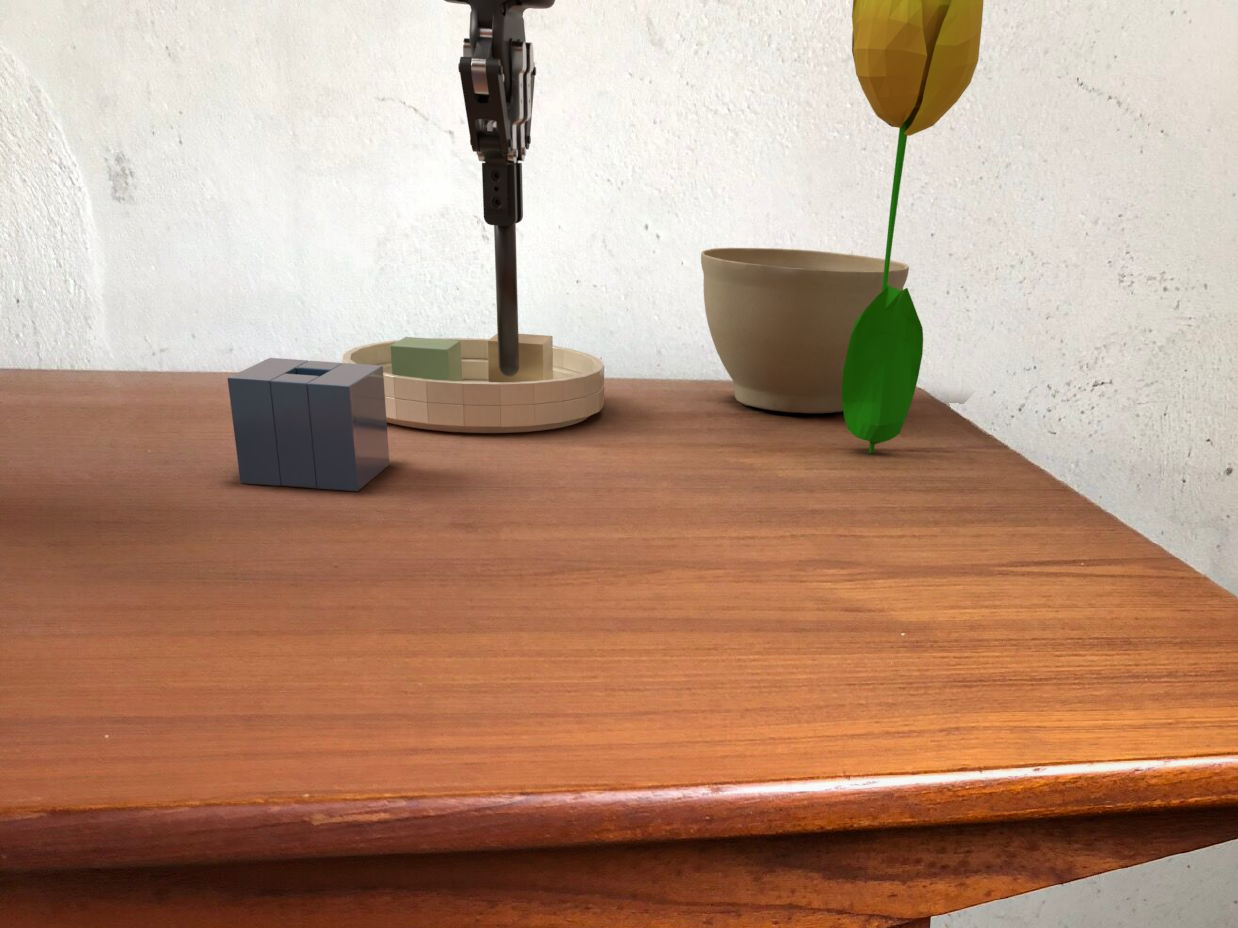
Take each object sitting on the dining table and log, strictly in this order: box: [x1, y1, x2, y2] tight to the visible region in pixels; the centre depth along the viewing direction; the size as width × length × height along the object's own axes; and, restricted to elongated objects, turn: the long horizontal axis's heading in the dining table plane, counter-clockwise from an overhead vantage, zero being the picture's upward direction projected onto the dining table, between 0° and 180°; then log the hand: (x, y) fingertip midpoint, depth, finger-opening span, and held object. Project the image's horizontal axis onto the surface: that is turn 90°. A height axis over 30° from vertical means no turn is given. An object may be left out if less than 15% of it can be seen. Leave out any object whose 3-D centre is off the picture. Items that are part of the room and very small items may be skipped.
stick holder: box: [227, 357, 391, 492], centre depth 87 cm, size 7×7×6 cm
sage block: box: [390, 336, 462, 382], centre depth 104 cm, size 4×4×4 cm
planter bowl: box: [700, 247, 910, 414], centre depth 112 cm, size 16×16×11 cm
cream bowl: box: [341, 337, 605, 434], centre depth 107 cm, size 19×19×4 cm
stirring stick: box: [493, 163, 519, 377], centre depth 100 cm, size 2×2×15 cm
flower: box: [842, 0, 984, 454], centre depth 94 cm, size 9×8×30 cm
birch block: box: [487, 333, 554, 382], centre depth 108 cm, size 4×4×4 cm
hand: (503, 222), depth 98 cm, fingers closed on stirring stick, 1 cm apart
